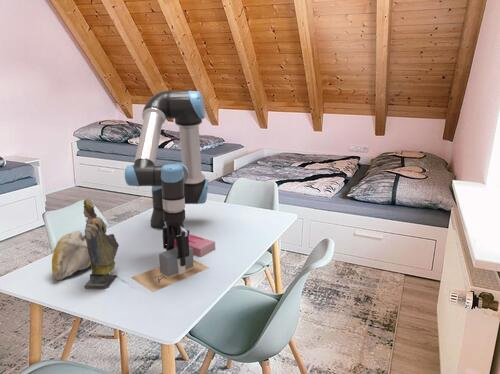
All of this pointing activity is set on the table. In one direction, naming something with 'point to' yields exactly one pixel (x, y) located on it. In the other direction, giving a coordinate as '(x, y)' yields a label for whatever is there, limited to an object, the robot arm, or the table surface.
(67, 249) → the stone
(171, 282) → the oak board
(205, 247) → the pink flat block
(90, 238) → the statue
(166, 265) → the block
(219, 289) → the table surface
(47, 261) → the table surface
